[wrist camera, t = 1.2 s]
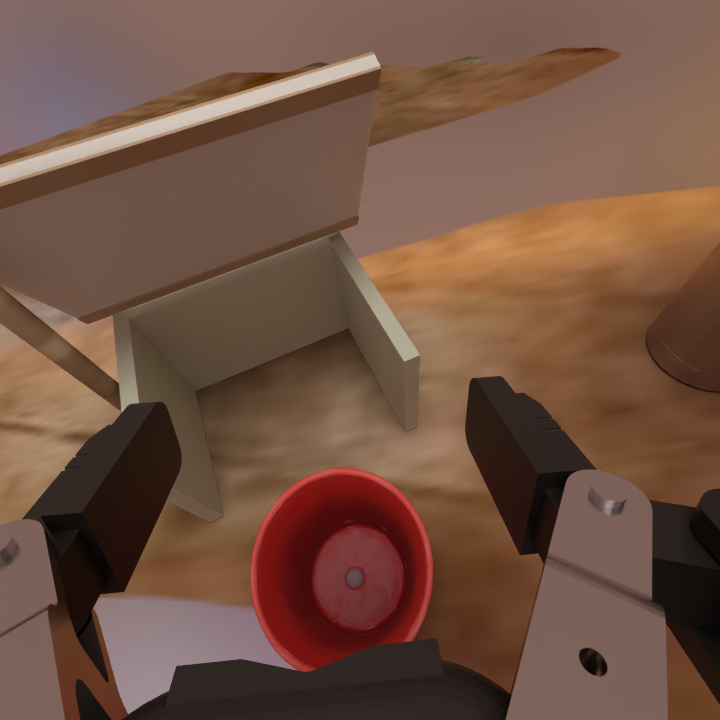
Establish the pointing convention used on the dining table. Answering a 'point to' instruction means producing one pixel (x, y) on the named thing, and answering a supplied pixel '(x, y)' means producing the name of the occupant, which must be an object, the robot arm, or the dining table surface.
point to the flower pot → (340, 568)
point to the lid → (188, 192)
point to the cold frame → (255, 343)
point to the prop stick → (56, 348)
